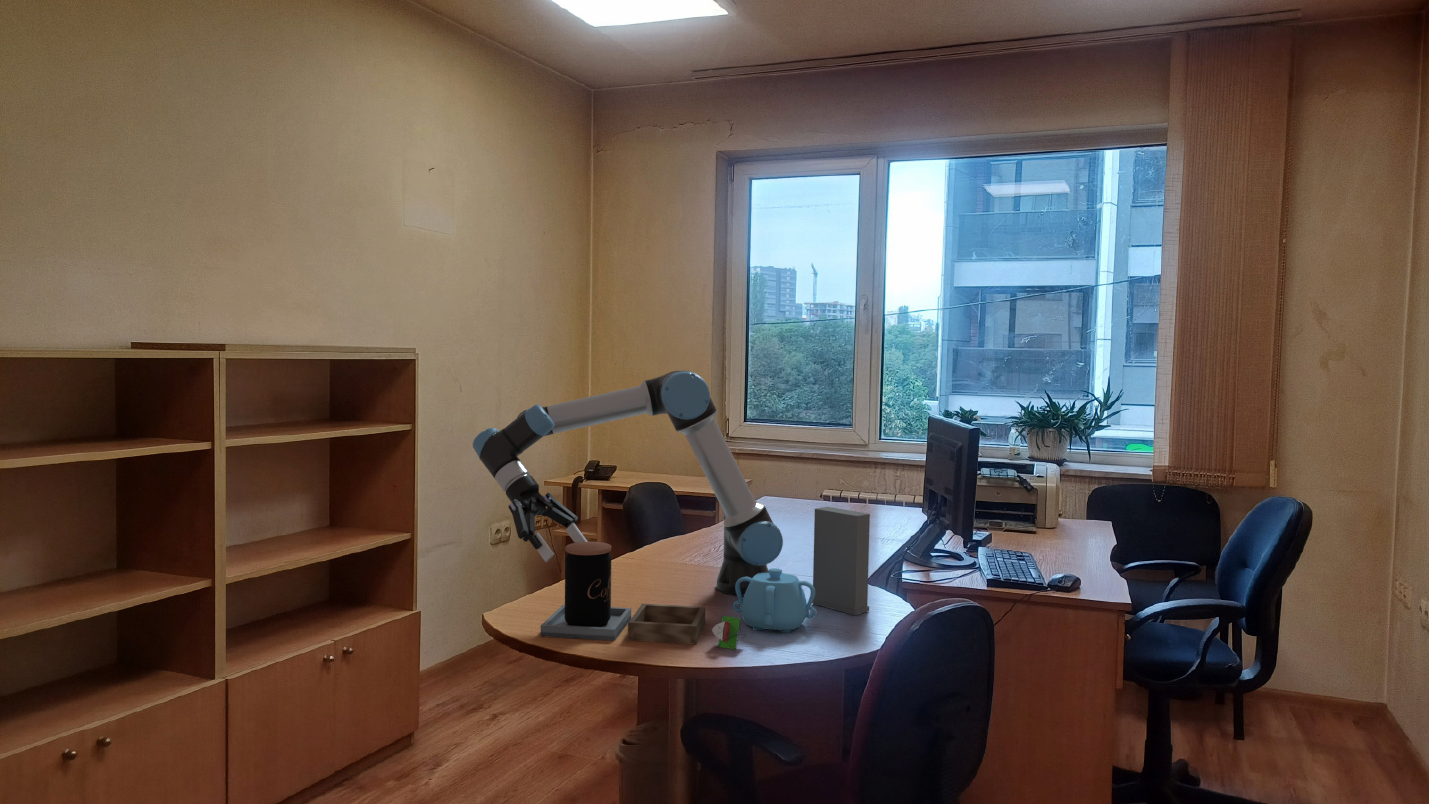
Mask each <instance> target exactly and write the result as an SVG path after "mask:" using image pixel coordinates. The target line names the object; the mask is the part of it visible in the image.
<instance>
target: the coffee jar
mask: <svg viewBox="0 0 1429 804" xmlns="http://www.w3.org/2000/svg"><path fill="white" fill-rule="evenodd" d="M564 549H565V552H566V556H565V557H564V605H565V621H566V622H567V624H568V625H569V626H584V627H602V626H605V625H606V624H607V623H608V621H609V620H610V618H611V607H612V555H611V554H610V552H611V551H612V545H611V544H609V543H606V542H601V541H588V542H577V543H575V542H573V543H569V544H567V545H566V546H565V547H564Z"/></svg>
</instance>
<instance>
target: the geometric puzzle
mask: <svg viewBox="0 0 1429 804" xmlns="http://www.w3.org/2000/svg"><path fill="white" fill-rule="evenodd" d="M719 620H721V621H720V622H719V623H717V622H716V624H715V625H714V626H713V627H712V628H711V629H710V630H711V632H712V634H713V636H714V637H716V638H717V639H718V641H715V642H716V644H717V647H718V648H722V649H723V648H724V649H729V650H735V651H736V650H737V648H738V646H740V644H741V643H739V642H738V641H739V640H741V638H740V637H741V635H742V636H743V638H745V637H746V636H748V635H747V633H746V632H745V631H743V630H741V627H740V624H741V617H734V616H727V615H722V616H721V618H719ZM743 629H745V628H744V626H743ZM739 631H740V632H739ZM741 632H742V633H741ZM738 635H739V636H738ZM742 641H744V639H742ZM742 641H741V642H742ZM738 643H739V645H738Z"/></svg>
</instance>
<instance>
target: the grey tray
mask: <svg viewBox="0 0 1429 804" xmlns="http://www.w3.org/2000/svg"><path fill="white" fill-rule="evenodd" d="M631 618H632V607H619V606H618V607H614V606H611V618H610V620H609V621H608V623H607V624H606V625H605V626H602V627H584V626H569V625H568V624H567V622H566V621H565V604H562V605H561V606H559V608H558V609H556V611H554V613H552V614H551V615H550V616H549V617H548V618H547V619H546V620H545V621H544V622H543V623H542V624H540V637H542V636H548V637H547V638H564V639H577V640H578V639H579V640H581V639H582V640H593V641H594V640H597V641H598V640H599V641H612V642H613V641H614V642H615V641H616V640H617V638H618V637H619V636H620V635H621V633H622V632H623V630H624V629H625V628H626V626H628V622H629V621H630V619H631Z"/></svg>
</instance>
